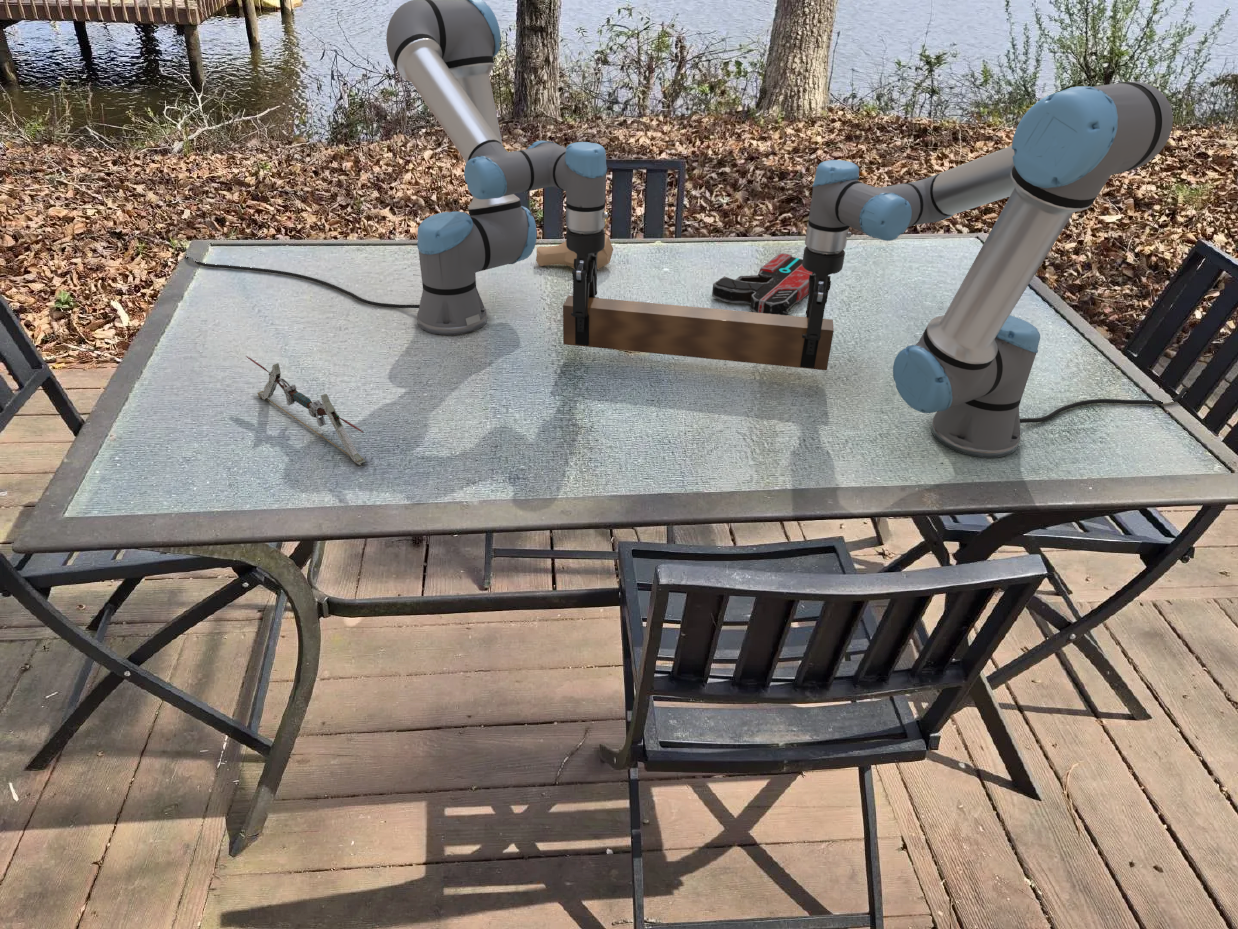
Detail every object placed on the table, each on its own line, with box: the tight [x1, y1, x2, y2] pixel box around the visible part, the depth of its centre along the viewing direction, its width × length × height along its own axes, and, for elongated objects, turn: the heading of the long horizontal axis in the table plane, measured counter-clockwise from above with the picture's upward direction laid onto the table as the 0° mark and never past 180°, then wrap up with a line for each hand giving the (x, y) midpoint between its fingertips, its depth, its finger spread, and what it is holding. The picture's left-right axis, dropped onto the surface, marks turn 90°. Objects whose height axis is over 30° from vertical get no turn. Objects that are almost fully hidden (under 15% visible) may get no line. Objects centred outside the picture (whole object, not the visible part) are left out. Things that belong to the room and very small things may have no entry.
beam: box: [562, 295, 835, 371], centre depth 177 cm, size 54×5×9 cm, turn 80°
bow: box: [245, 355, 367, 466], centre depth 155 cm, size 39×2×10 cm, turn 47°
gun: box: [711, 252, 812, 316], centre depth 215 cm, size 4×31×19 cm
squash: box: [535, 234, 614, 270], centre depth 224 cm, size 11×20×9 cm, turn 90°
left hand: (585, 337), depth 182 cm, fingers closed on beam, 5 cm apart
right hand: (807, 359), depth 176 cm, fingers closed on beam, 5 cm apart
